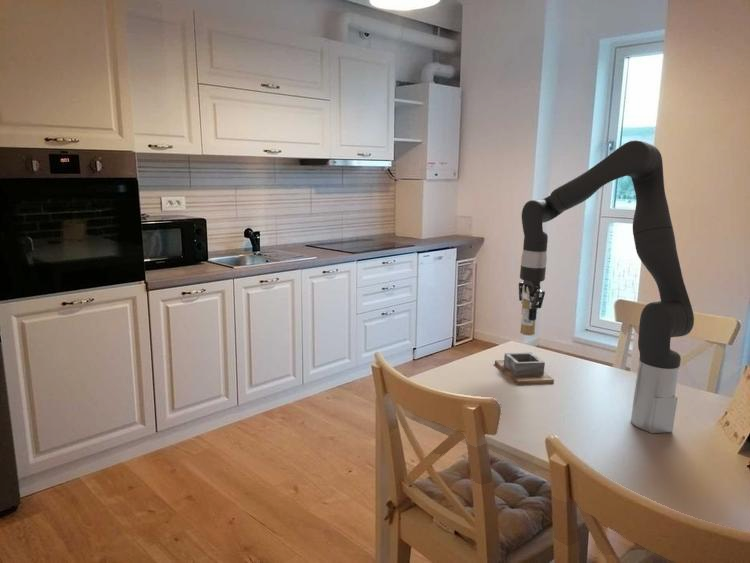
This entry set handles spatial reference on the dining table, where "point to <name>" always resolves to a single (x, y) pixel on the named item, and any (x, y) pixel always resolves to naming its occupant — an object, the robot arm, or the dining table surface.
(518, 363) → the socket holder
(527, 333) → the sprinkles bottle
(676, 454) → the dining table surface
